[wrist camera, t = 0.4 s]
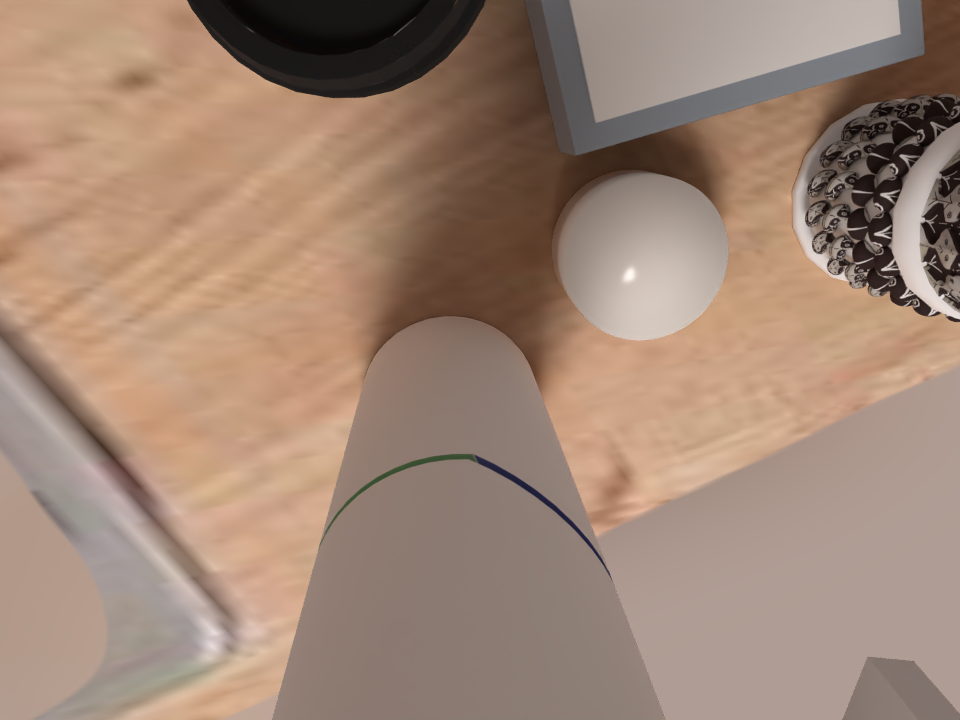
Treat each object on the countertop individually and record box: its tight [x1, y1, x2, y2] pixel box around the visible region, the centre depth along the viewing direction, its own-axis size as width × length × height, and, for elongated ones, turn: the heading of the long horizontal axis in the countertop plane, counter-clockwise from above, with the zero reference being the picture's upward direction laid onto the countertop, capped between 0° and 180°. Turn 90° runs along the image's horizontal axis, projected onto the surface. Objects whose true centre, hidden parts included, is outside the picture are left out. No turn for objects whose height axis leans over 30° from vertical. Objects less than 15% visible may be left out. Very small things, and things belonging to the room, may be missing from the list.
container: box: [272, 316, 666, 720], centre depth 22 cm, size 9×9×30 cm
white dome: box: [551, 169, 728, 340], centre depth 32 cm, size 7×7×4 cm
